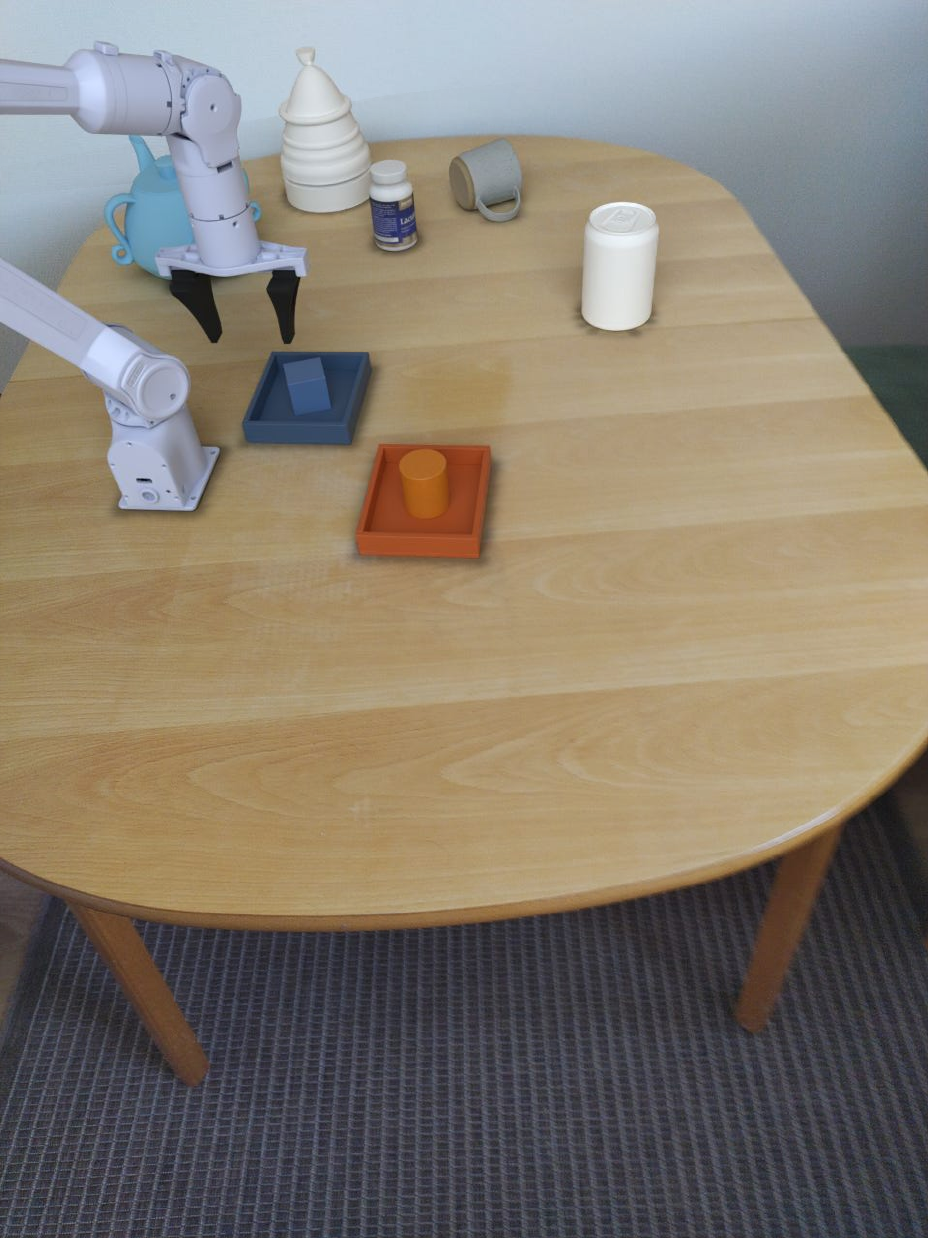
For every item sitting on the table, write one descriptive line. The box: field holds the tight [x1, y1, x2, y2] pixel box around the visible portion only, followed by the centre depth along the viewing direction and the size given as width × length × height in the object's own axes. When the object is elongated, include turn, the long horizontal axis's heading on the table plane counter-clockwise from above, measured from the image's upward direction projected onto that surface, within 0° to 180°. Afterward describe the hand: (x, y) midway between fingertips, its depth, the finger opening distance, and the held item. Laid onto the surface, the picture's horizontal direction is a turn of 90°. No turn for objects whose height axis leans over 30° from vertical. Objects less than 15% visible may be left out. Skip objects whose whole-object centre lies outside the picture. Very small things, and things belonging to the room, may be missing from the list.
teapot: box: [103, 135, 263, 281], centre depth 120 cm, size 16×20×14 cm
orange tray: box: [355, 443, 492, 559], centre depth 90 cm, size 13×11×2 cm
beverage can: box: [581, 201, 660, 332], centre depth 107 cm, size 8×8×12 cm
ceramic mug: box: [448, 137, 524, 223], centre depth 128 cm, size 11×8×8 cm
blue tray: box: [241, 350, 372, 446], centre depth 103 cm, size 13×11×2 cm
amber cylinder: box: [399, 449, 450, 519], centre depth 89 cm, size 4×4×5 cm
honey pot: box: [278, 46, 373, 213], centre depth 131 cm, size 13×13×18 cm
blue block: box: [283, 357, 331, 416], centre depth 102 cm, size 4×4×4 cm
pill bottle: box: [369, 159, 418, 252], centre depth 123 cm, size 6×6×10 cm
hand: (253, 338), depth 96 cm, fingers open, 7 cm apart
